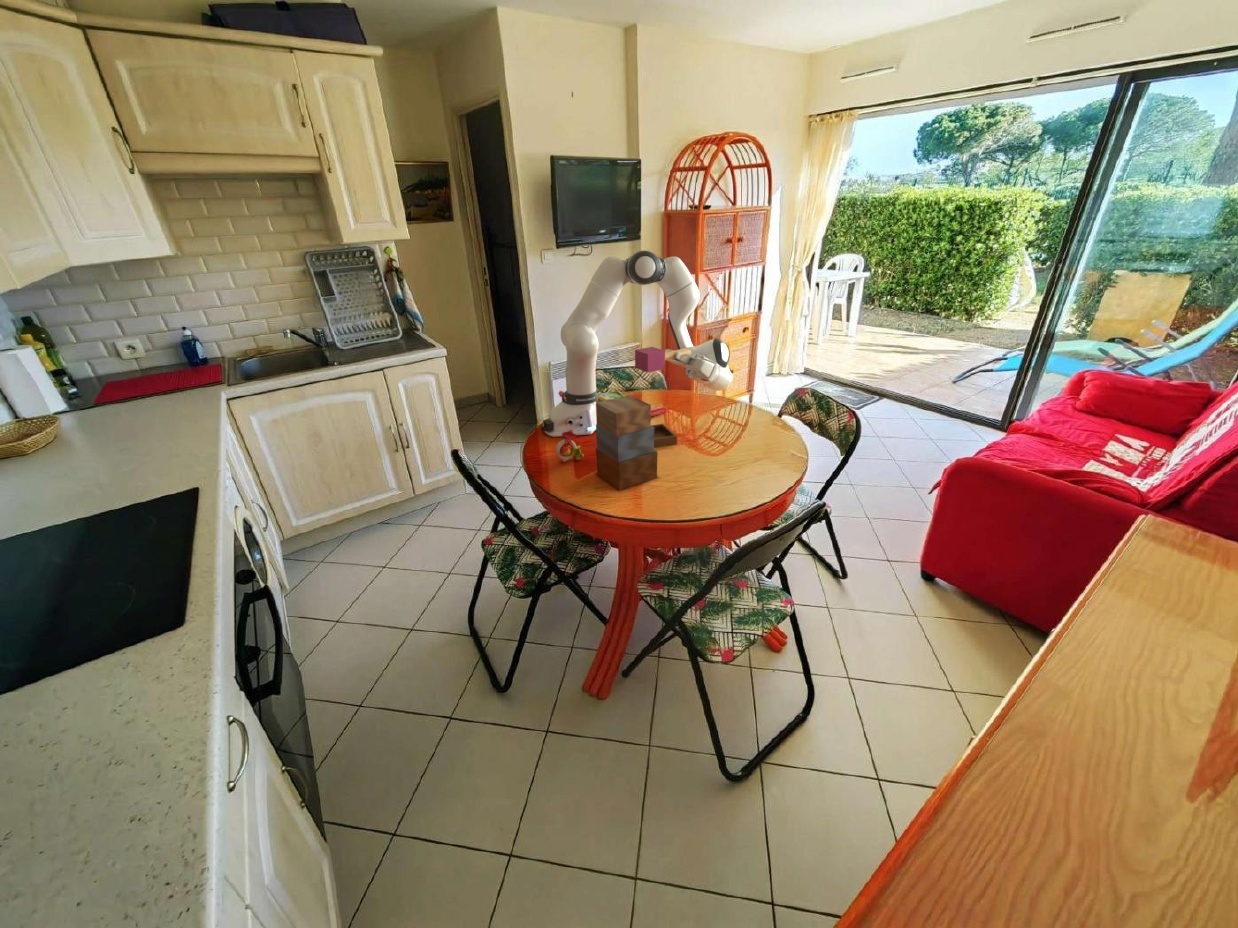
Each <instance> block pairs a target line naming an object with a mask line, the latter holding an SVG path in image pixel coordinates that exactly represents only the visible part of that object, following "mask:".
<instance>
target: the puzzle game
mask: <svg viewBox="0 0 1238 928" xmlns="http://www.w3.org/2000/svg"><path fill="white" fill-rule="evenodd" d="M623 396H627V395H626V394H624V393H623V392H621V391H620V390H616V391H608V392H603V393H598V402H602V401H606V400H610V399H615V398H619V397H623Z"/></svg>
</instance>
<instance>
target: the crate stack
mask: <svg viewBox="0 0 1238 928" xmlns="http://www.w3.org/2000/svg"><path fill="white" fill-rule="evenodd" d="M651 409H652V405H651V404H650V403H647V402H645V401H643V400H641V399H639V398H636V397H635V396H632V395H630V394H628V395H626V396H623V397H619V398H615V399H610V400H606V401H602V402H597V403H596V421H597V424H596V430H595V438H596V448H595V457H596V458H595V459H596V475H598V476H599V477H601V478H602V479H603V480H605V481H606V482H608V483H609V484H610V485H612V486H613V487H614V488H616V489H617V490H618V491H621V490H625V489H627V488H630V487H633V486H636V485H639V484H642V483H645V482H648V481H651V480H654V479H657V478H658V450H656V449H655V447H654V427H653V426H651V425H652V422H651V420H652V416H651Z"/></svg>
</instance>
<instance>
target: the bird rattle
mask: <svg viewBox="0 0 1238 928" xmlns="http://www.w3.org/2000/svg"><path fill="white" fill-rule="evenodd" d="M562 435H563V436H562V438H563V439H561V440H560V441H558V443H557V444H556V446H555V455H556V456H557V458H558V459H560V460H561V462H562V463H566V462H567V461H570V460H571V459H573V458H574V457H575V459H576V460H577V461H580V460H581V459H583V458H584V457H585V455H584V454H583V453H582V450H581V447H582V446H581V445H578V446H577V444H576V442H575V441H573V440H574V439H576V438H577V436H578V435H577V434H574V433H573V431H572V430H569V431H568V432H563V433H562Z"/></svg>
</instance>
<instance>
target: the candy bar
mask: <svg viewBox="0 0 1238 928" xmlns="http://www.w3.org/2000/svg"><path fill="white" fill-rule="evenodd" d="M668 409H669V408H668V407H666V406H657V407H654V408H651V417H654V416H657V415H661V414H664V413H667V411H668Z"/></svg>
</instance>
